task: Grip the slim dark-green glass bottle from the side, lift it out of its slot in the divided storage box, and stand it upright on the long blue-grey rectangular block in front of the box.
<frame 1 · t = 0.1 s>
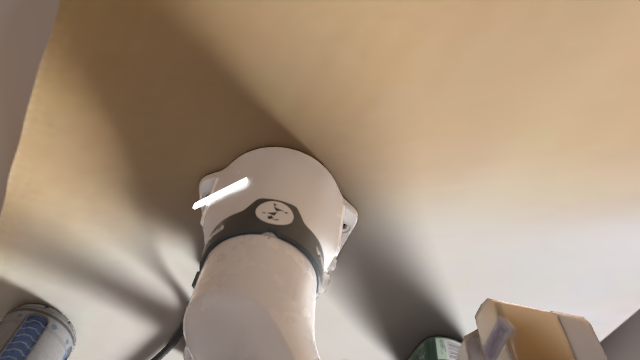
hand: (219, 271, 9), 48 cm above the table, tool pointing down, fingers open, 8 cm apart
beverage bottle: (51, 326, 80), on the table
coffee jar: (437, 356, 77), on the table
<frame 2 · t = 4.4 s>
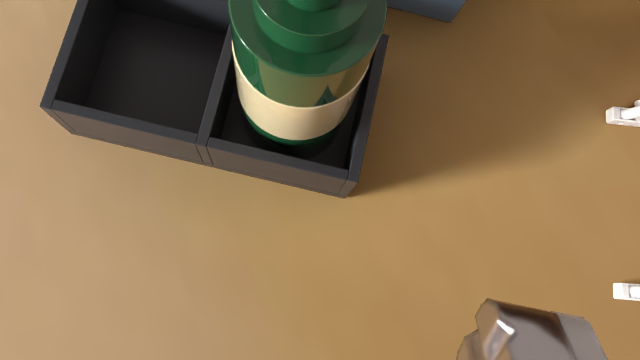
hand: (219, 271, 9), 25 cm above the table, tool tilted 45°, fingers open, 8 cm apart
bottle: (292, 111, 34), point 1 cm above the table, touching divided storage box
divided storage box: (227, 100, 35), on the table
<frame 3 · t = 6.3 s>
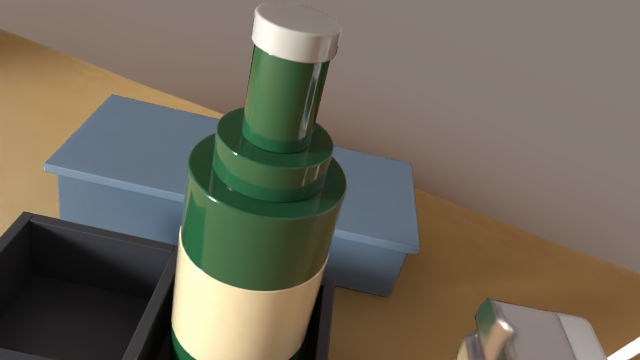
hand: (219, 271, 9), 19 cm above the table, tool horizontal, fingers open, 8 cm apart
blue-grey rectangular block: (240, 220, 40), on the table
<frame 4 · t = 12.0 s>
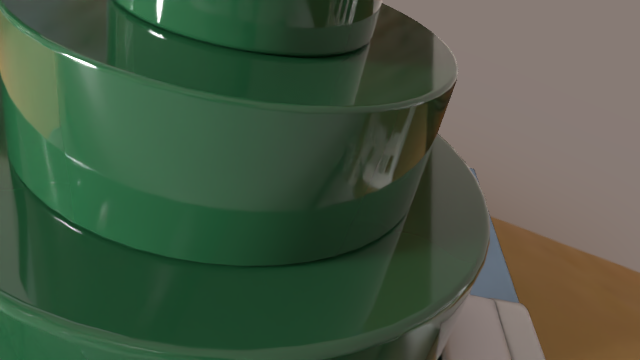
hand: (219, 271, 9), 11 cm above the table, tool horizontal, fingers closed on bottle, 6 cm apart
blue-grey rectangular block: (206, 260, 25), on the table
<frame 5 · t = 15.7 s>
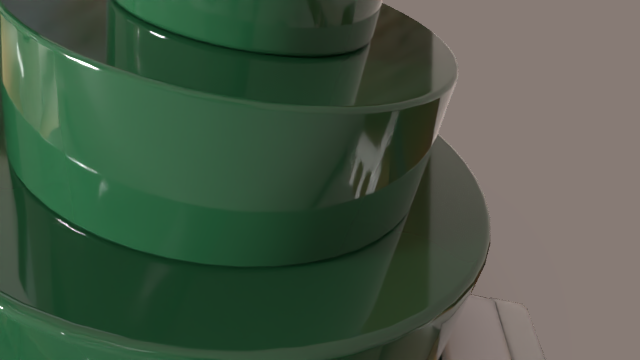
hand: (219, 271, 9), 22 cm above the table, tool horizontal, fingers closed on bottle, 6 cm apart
when the fingers open (15 cm above the table, at t = 19.5 s): bottle stays where it is, resting on blue-grey rectangular block.
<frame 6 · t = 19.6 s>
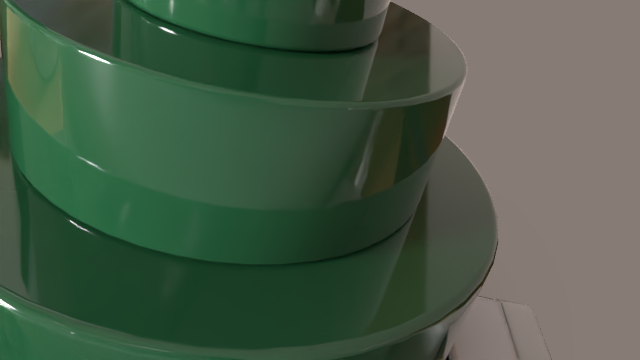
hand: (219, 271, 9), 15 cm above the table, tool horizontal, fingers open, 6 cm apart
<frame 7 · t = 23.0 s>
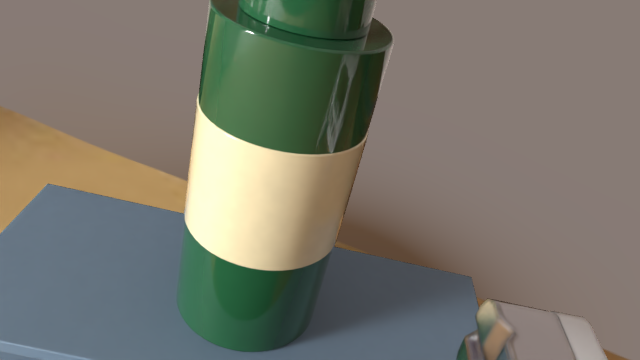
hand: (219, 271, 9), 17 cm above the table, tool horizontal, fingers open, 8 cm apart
bottle: (246, 298, 25), point 5 cm above the table, touching blue-grey rectangular block
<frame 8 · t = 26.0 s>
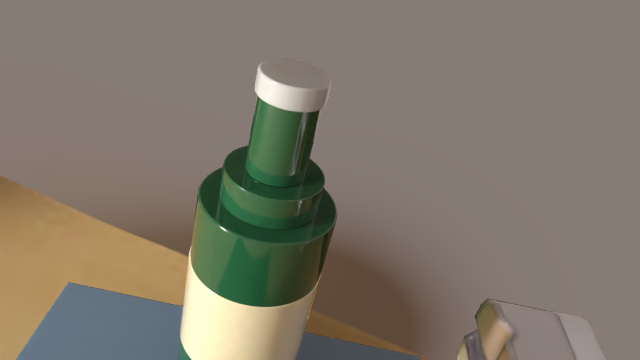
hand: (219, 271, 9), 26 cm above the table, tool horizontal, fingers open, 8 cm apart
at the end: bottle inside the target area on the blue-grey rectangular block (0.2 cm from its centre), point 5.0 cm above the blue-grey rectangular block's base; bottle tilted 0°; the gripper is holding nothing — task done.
